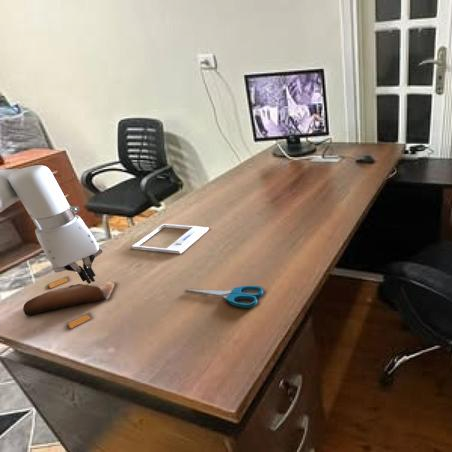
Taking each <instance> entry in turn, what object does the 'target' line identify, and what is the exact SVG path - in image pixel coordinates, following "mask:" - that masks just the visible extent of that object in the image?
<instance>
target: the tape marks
mask: <svg viewBox="0 0 452 452" xmlns="http://www.w3.org/2000/svg"><path fill="white" fill-rule="evenodd" d="M67 282H68V279H67V278H66V277H63V278H61V279H59V280H56V281H54V282H52V283H50V284H48V287H49V288H50V289H53V288H56V287H57V286H59V285H62V284H65V283H67ZM90 320H91V318H90V316H89V315H88V314H85V315H82V316H81V317H78V318H76V319H74V320H72V321H70V322H68V327H69V329H70V330H72V329H74V328H76V327H77V326H79V325H82V324H83V323H86V322H88V321H90Z"/></svg>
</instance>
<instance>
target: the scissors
mask: <svg viewBox="0 0 452 452" xmlns="http://www.w3.org/2000/svg"><path fill="white" fill-rule="evenodd" d="M186 290H187V292H191V293H197V294H198V293H199V294H205V295H210V296H216V297H221V298H223V299H225V300H226V302H227V303H229V305H233V306H235V307H237V308H244V309H251V308H253V307H255V306H257V304H258V299H259V298H260V297H262V296H263V295H264V290H263V287H262V286H259V285H244V286H243V285H242V286H238V287H234V288H233V289H229V290H215V289H214V290H213V289H194V288H193V289H192V288H187V289H186ZM244 291H259V292H257V293H248V292H244ZM238 300H251V301H252V302H249V303H244V302H238Z"/></svg>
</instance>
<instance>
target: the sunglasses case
mask: <svg viewBox="0 0 452 452" xmlns="http://www.w3.org/2000/svg"><path fill="white" fill-rule="evenodd" d="M115 286H116V283H115V282H114V281H101V282H91V283H90V284H88V283H85V284H83V283H77V284H76V283H75V284H71V285H65V286H62V287H59V288H55V289H51V290H49V291H46V292H43V293H42V294H39V295H37V296H34V297H32V298H31V299H29V300H27V301H26V302H25V303H24V305H23V313H24V315H25V316H27V317H28V316H32V315H36V314H39V313H43V312H46V311H50V310H54V309H60V308H64V307H70V306H74V305H79V304H85V303H90V302H96V301H101V300H104V299H105V300H109V299H110V297H111V296H112V293H113V291H114V288H115Z"/></svg>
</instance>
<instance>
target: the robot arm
mask: <svg viewBox="0 0 452 452" xmlns="http://www.w3.org/2000/svg"><path fill="white" fill-rule="evenodd" d="M19 201H20V202H21V203H22V205H23V207H24V209H25V211H26V212H27V214H28V215H29V217H30V218H31V220H32V221H33V223H34V225H35V226H36V229H35V230H34V233H35V236H36V238H37V241H38V243H39V245H40V247H41V249H42V251H43V253H44V254H45V256H46V258H47V260H48V261H49V262H50V264H51V266H52V270H53V272H54V273H55V274H57V273H60V272H61V273H62V272H65V271H69V272H75V273H76V274H78V276H79V278H80V279H81V281H82V282H86V284H91V283H95V282H96V280H95V278H94V277H96V276H97V275H96V273H95V271H94V270H93V268H92V266H93V265H92V264H93V262H94V261H95V258H97V257H98V256H100V255H101V254H102V253H103V250H102V248H100V246H99V244H98V242H97V240H96V238H95V237H94V235H93V234H92V232H91V230H90V229H89V227H88V225H86V223H85V222H84V220H83V219H82V218H81V216H79V215H78V214H77V213H78V212H80V211H81V209H80V207H79V205H75V206H72V205H70V204H69V202H68V200H67V198H66V197H65V195H64V192H63V191H62V189H61V187H60V185H59V184H58V182H57V179H56V178H55V176H54V174H53V172H52V171H51V169H50V168H49V167H48V166H46V165H42V164H41V165H40V164H39V165H37V164H36V165H30V166H26V167H22V168H9V169H8V168H7V169H6V168H5V169H0V213H2V212H3V211H5V210H6V209H7V208H9V207H10V206H12V205H14V204H15V203H17V202H19ZM81 260H82V266H81V265H79V264H78V263H77V262H79V261H81Z"/></svg>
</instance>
